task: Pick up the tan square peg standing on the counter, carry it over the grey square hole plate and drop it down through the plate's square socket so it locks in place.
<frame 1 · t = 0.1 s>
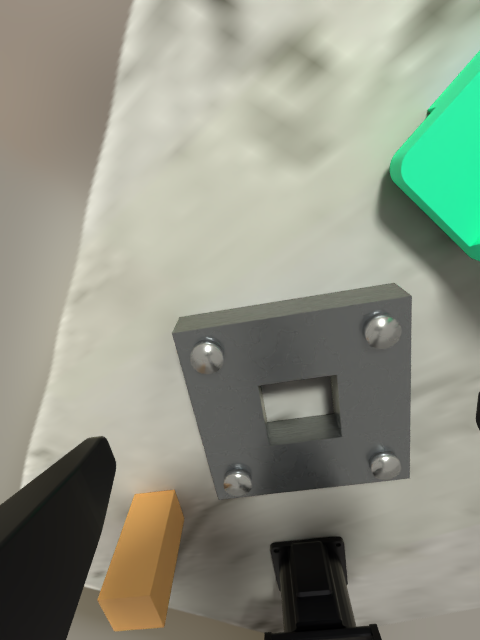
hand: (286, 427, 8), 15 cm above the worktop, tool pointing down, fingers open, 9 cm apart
tan square peg: (159, 506, 30), on the worktop
grey square hole plate: (296, 390, 25), on the worktop
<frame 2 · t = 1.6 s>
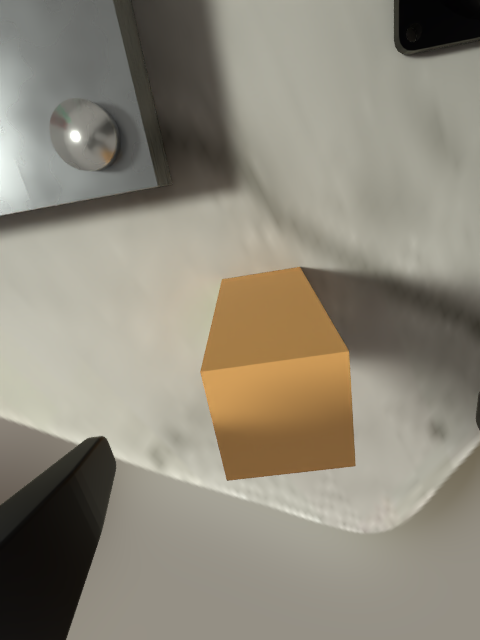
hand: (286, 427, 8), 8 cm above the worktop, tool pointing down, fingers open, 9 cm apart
tan square peg: (266, 309, 16), on the worktop
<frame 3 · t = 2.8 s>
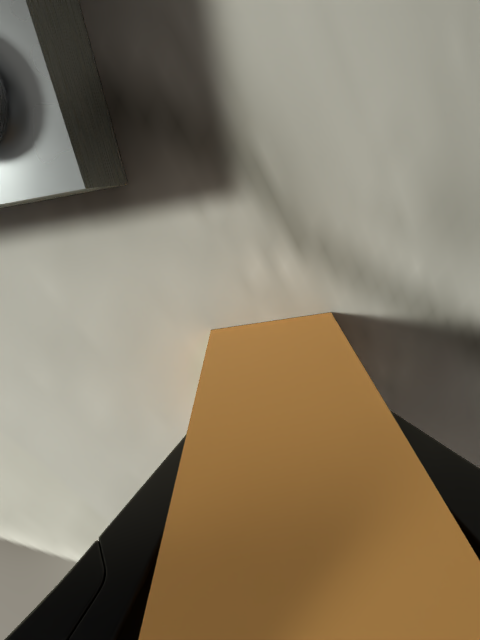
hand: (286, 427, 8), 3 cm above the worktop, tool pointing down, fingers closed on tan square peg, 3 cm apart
tan square peg: (277, 372, 11), on the worktop, touching gripper
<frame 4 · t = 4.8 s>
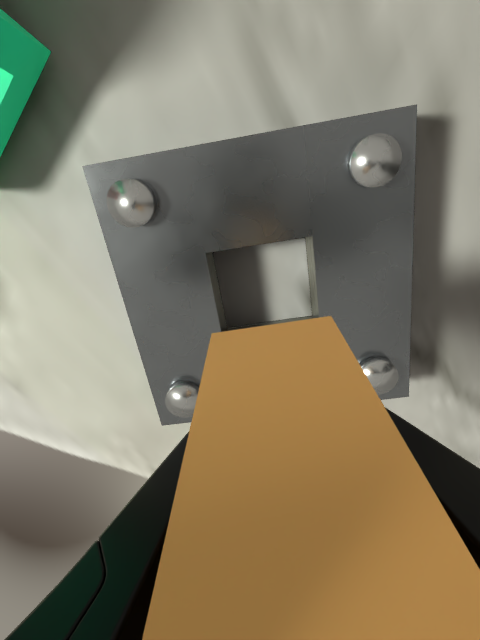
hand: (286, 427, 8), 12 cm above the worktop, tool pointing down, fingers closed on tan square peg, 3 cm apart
tan square peg: (278, 375, 11), point 9 cm above the worktop, touching gripper
grey square hole plate: (263, 280, 19), on the worktop
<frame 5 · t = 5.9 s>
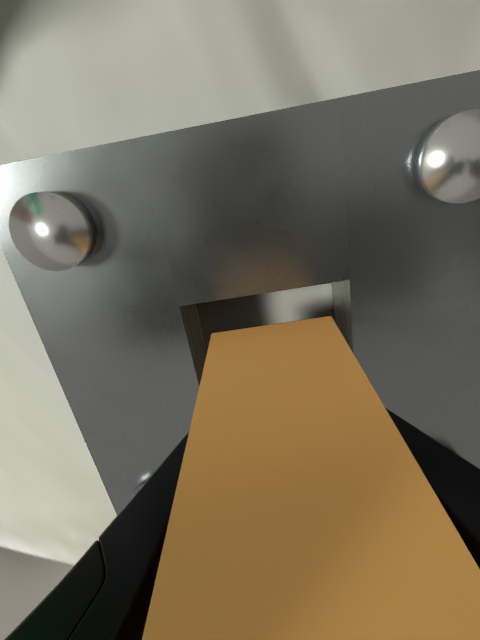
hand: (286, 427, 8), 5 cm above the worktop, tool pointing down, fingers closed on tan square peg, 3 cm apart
tan square peg: (278, 375, 11), point 3 cm above the worktop, touching gripper
grey square hole plate: (269, 333, 13), on the worktop
when the fingers open (4 cm above the worktop, at t = 6.9 s): tan square peg drops 1 cm, resting in grey square hole plate.
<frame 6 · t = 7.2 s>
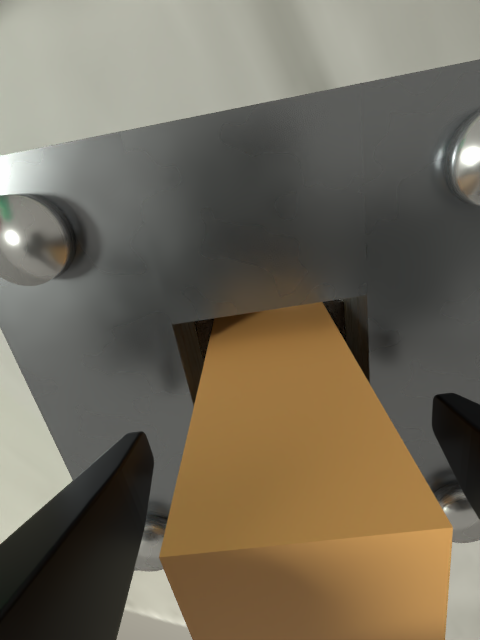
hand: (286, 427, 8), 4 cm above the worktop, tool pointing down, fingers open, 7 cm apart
tan square peg: (274, 352, 12), resting in grey square hole plate
grey square hole plate: (273, 350, 12), on the worktop
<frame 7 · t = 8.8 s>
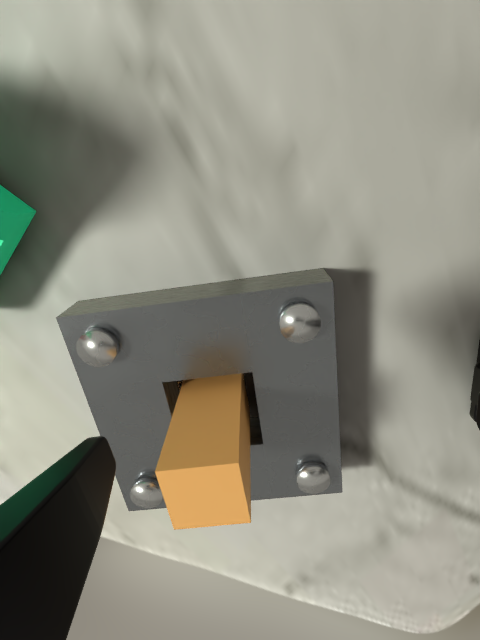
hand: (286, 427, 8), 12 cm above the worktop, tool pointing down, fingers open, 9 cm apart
tan square peg: (218, 390, 22), resting in grey square hole plate
grey square hole plate: (218, 389, 22), on the worktop
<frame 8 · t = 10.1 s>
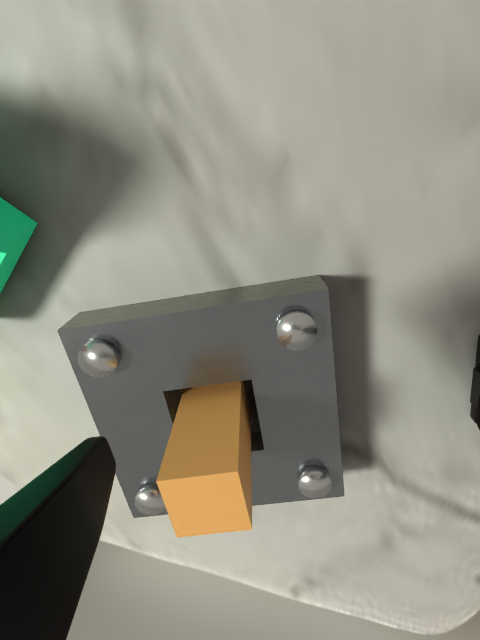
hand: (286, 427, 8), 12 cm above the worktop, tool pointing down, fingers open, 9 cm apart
tan square peg: (219, 397, 23), resting in grey square hole plate
grey square hole plate: (218, 396, 22), on the worktop
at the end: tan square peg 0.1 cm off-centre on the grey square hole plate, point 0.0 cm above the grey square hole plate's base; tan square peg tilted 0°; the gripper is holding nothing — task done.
